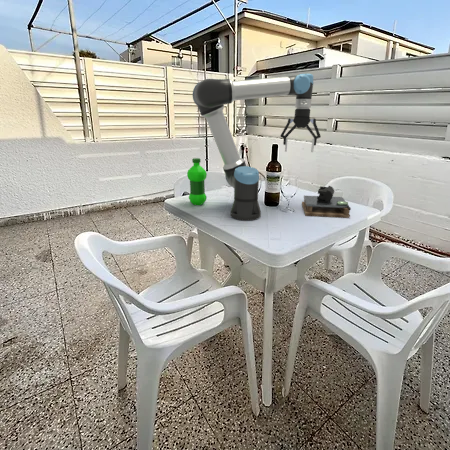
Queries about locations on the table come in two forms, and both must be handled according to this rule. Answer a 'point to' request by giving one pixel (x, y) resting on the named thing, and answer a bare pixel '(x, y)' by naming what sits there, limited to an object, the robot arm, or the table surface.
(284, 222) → the table surface
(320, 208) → the walnut stand
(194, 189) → the plastic bottle
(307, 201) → the tilting plate
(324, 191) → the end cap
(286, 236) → the table surface
